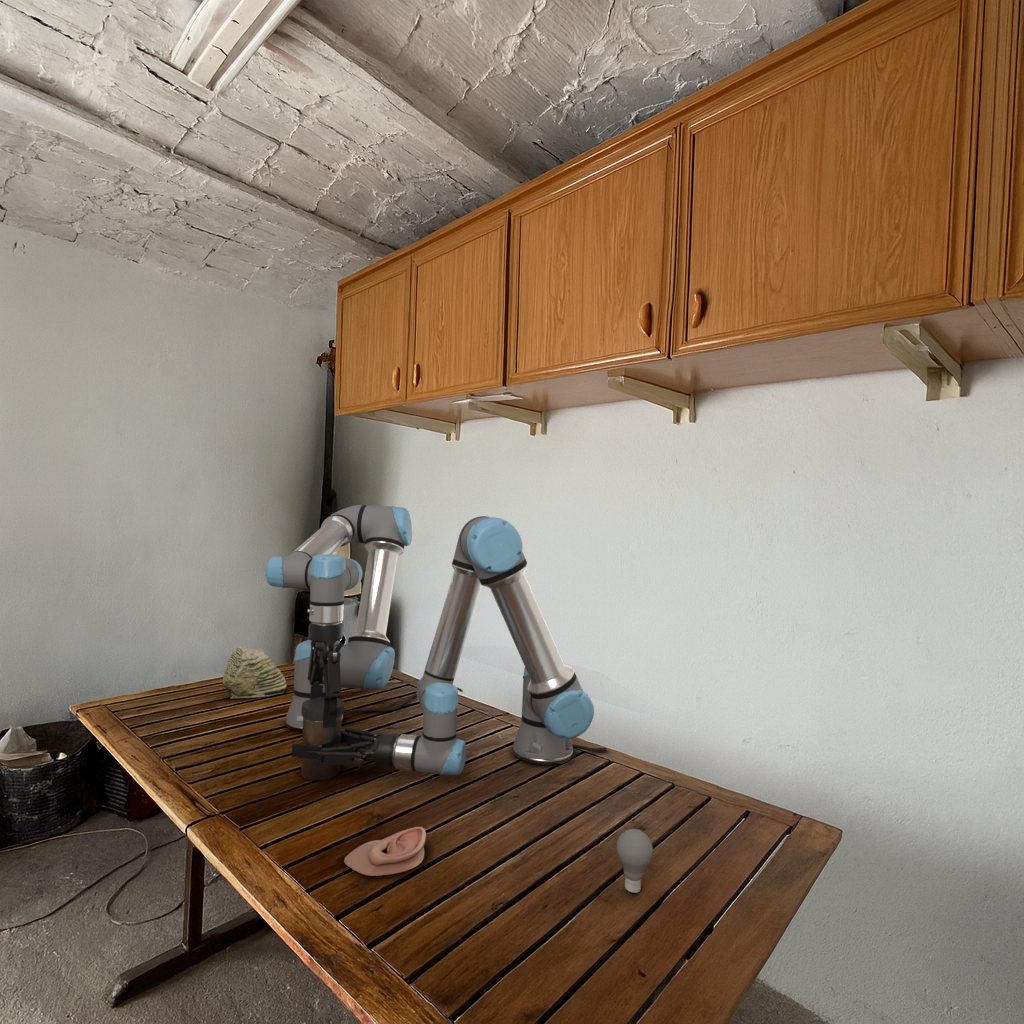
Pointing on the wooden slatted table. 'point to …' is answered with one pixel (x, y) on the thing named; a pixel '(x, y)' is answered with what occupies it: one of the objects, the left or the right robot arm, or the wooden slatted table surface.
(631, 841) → the light bulb
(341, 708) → the lid
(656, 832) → the wooden slatted table surface
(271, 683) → the fossil
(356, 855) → the anatomical model
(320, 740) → the jar
